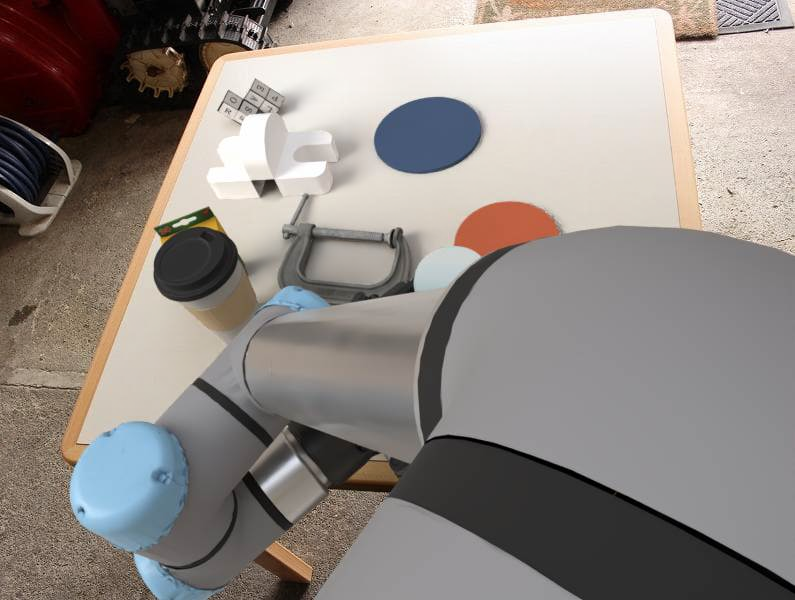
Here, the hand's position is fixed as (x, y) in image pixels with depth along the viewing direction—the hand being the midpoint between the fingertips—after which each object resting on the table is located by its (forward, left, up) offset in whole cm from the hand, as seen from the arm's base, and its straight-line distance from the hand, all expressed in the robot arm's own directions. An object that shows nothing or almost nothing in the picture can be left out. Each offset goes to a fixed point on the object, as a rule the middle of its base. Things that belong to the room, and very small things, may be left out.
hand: (483, 311), depth 59 cm
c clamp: (+24, +7, -11) cm, 27 cm away
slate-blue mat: (+37, -13, -11) cm, 41 cm away
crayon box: (+30, +23, -11) cm, 40 cm away
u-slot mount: (+45, +9, -11) cm, 47 cm away
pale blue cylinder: (-1, +3, -11) cm, 11 cm away
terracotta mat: (+13, -11, -11) cm, 20 cm away
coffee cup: (+21, +23, -11) cm, 33 cm away
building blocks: (+59, +7, -11) cm, 61 cm away
